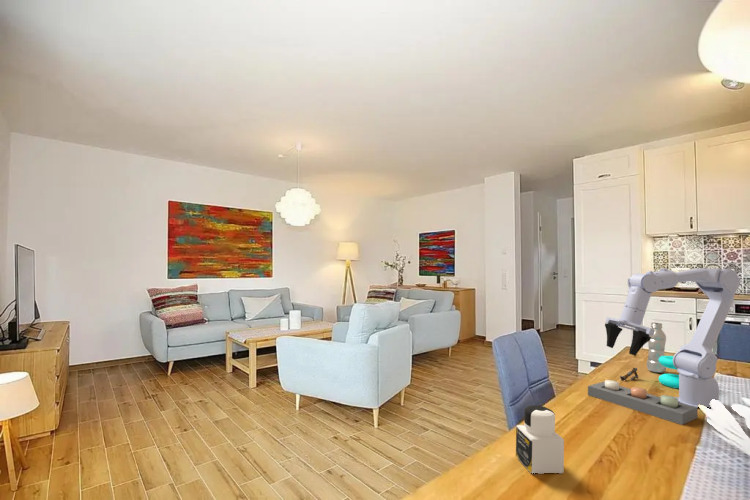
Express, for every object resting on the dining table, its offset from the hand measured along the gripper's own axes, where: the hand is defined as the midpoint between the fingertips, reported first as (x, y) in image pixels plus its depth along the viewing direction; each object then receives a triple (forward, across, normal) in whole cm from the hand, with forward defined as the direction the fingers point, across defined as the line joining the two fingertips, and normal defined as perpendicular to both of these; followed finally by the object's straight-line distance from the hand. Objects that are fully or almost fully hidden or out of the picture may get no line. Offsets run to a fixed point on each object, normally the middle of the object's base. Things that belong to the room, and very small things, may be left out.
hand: (620, 350), depth 119 cm
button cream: (+13, -4, +8) cm, 16 cm away
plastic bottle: (+2, -22, +53) cm, 57 cm away
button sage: (+10, +11, +11) cm, 19 cm away
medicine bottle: (+31, +23, -43) cm, 58 cm away
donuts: (+4, -7, +42) cm, 43 cm away
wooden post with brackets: (+8, -17, +32) cm, 37 cm away
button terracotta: (+12, +3, +9) cm, 15 cm away
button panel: (+14, +4, +10) cm, 18 cm away
